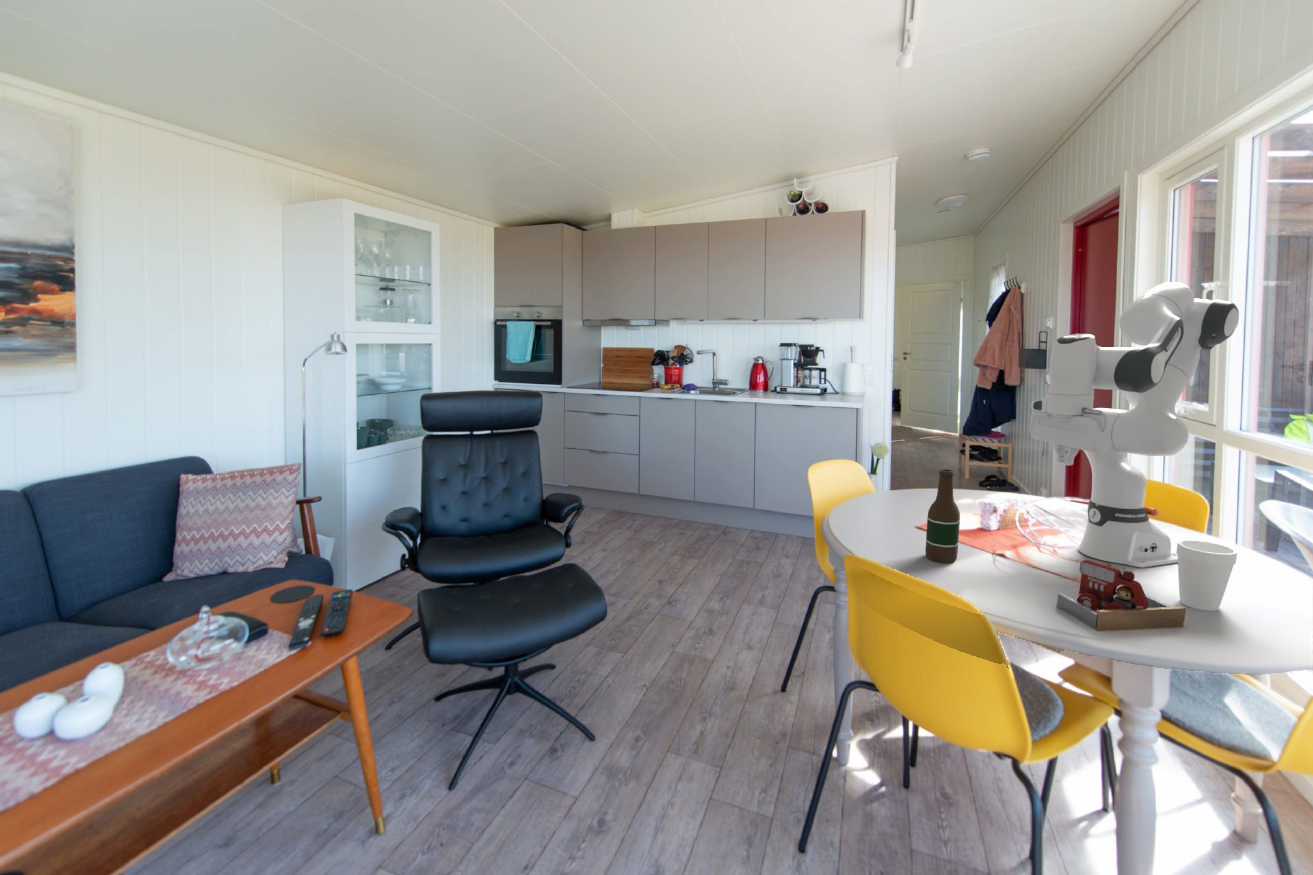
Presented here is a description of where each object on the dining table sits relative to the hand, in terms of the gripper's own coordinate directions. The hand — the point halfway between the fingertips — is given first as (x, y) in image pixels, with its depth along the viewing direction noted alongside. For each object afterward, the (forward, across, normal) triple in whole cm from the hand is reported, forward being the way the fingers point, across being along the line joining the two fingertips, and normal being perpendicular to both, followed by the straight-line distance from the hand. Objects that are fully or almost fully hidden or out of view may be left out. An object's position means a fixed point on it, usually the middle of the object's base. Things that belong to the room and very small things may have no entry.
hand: (1065, 464), depth 139 cm
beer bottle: (+28, +15, +21) cm, 38 cm away
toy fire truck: (+28, -20, +4) cm, 35 cm away
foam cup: (+29, -18, -19) cm, 39 cm away
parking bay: (+28, -21, +3) cm, 35 cm away
